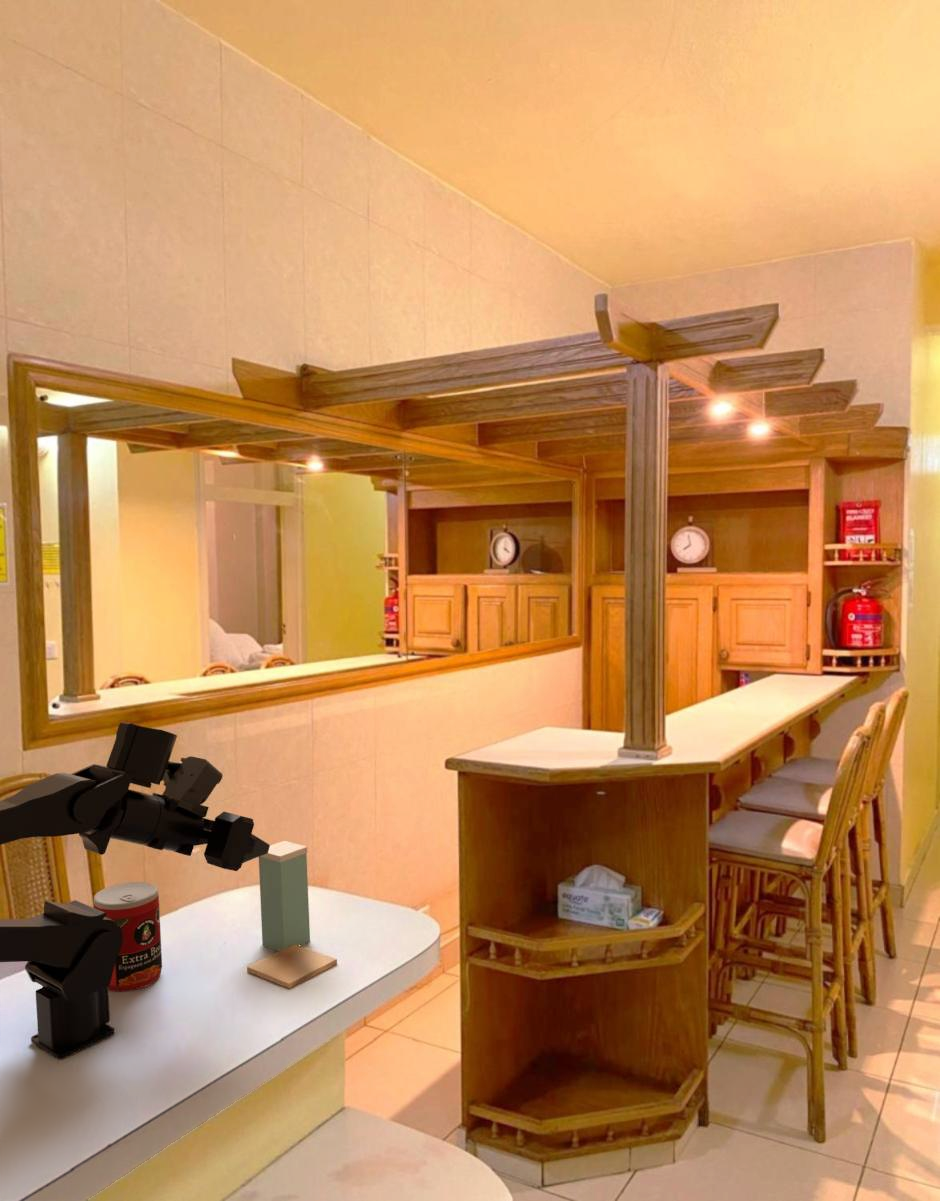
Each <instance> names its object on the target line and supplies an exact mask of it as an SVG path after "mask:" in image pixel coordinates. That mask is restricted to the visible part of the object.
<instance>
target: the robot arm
mask: <svg viewBox="0 0 940 1201" xmlns="http://www.w3.org/2000/svg"><path fill="white" fill-rule="evenodd" d="M115 734H116V736H115V740H114V743H113V747H112V748H111V753H110V755H109V757H108V760H107V763H106V765H101V764H98V763H93V764H91V765H89V766H86V767H84V768H82V769H79V770H77V771H75V772H72V773H66V772H59V773H58V772H57V773H53V774H51V775H49V776H46V777H44V778H42V779H40V780H37V781H35V782H33V783H31V784H28V785H26V786H25V787H24V788H22V789H21V790H19V791H18V792H16V794H14V795H12V796H10V797H7V798H5V799H2V800H0V846H2V845H5V844H9V843H11V842H15V841H18V840H22V839H29V838H42V837H43V838H45V837H50V838H51V837H63V836H70V835H77V834H78V835H79V837H80V838H81V840H82V844H83V848H84V850H86V851H90V852H92V853H95V854H98V855H100V856H101V855H102V856H103V855H104V854H106V852H107V849H108V846H109V844H110V840H116V841H122V842H127V843H131V844H136V845H142V846H145V847H149V848H151V849H154V850H159V851H163V850H165V851H171V852H174V853H178V854H180V855H182V856H183V855H184V856H188V857H189V856H190V857H191V855H192V853H193V850H194V847H195V846H202V845H206V847H205V850H204V853H203V856H204V858H205V861H206V864H209V865H212V866H215V867H216V868H221V869H224V870H228V871H233V872H238V871H239V870H240V869H242V866H243V864H245V863H247V862H249V861H251V860H254V859H256V858H259V856H262V855H265V854H267V853H268V851H269V847H270V846H271V845H270V844H269V843H268V842H266V841H264V840H262V839H261V838H259V836H257V835H254V834H253V833H252V832H253V830H254V827H255V823H254V820H253V818H252V817H251V818H250V817H246V816H242V815H238V814H236V813H231V812H227V811H222V812H221V813H220V814H218V815H217V816H215V818H214V820H212V819H209V818H206V817H207V814H208V811H209V806H207V805H203V804H204V803H205V802H206V801H207V800H208V798H209V797H210V796H211V794H212V792H213V790H214V789H215V788H216V786H217V785H218V784H220V783H221V781H222V780H223V773H222V772H221V771H220V770H218V768H216V767H215V766H214V765H213V764H212V763H211V762H210V761H208V759H206V758H203V757H202V758H201V757H197V756H187V757H181V758H180V761H181V762H178V761H177V762H175V761H170V758H171V756H172V752H173V750H174V747H175V744H176V741H177V738H178V735H177V734H175V733H174V732H173V733H172V732H169V731H166V730H163V729H158V728H152V727H146V726H142V725H137V724H134V723H130V722H125V721H121V722H119V725H118V727H117V730H116V733H115ZM161 782H163V786H165V788H164V791H162V792H163V793H162V794H160V793H155V792H152V794H148V793H146V792H141V791H137V790H133V789H129V788H130V785H131V784H132V785H136V786H140V787H143V788H148V789H151V787H152V785H157V786H160V785H161ZM105 916H106V913H105V912H102V911H100V910H97V909H95V908H94V906H93V907H92V906H91V905H88V904H85V903H83V902H81V901H78V900H76V899H75V900H72V901H69V902H64V903H61V902H55V901H50V900H45V901H44V904H43V913H40V914H38V915H35V916H33V917H29V918H0V963H15V962H16V963H19V962H22V963H23V962H27V963H26V964H25V966H24V969H25V971H26V973H27V975H28V977H29V980H30V981H31V982H33V983H36V984H38V985H40V986H42V987H41V988H39V989H36V990H35V1003H36V1004H35V1005H36V1020H37V1021H36V1023H37V1033H36V1034H34V1035H32V1036H31V1037H30V1042H31V1044H34V1045H35V1046H37V1047H38V1048H40V1049H42V1050H43V1051H45V1052H46V1053H48V1054H50V1055H51V1056H53V1057H54V1058H56V1059H58V1060H59V1059H65V1058H67V1057H69V1056H70V1055H74V1054H75V1053H77V1052H79V1051H82V1050H83V1049H86V1048H88V1047H90V1046H92V1045H94V1044H97V1043H98V1042H101V1041H102V1040H104V1039H107V1038H109V1037H111V1036H113V1035H115V1028H114V1027H112V1026H110V1025H108V1024H109V1023H110V1021H111V1018H110V1016H111V1015H110V1000H109V999H110V998H109V997H110V996H109V990H108V986H109V985H110V982H111V978H112V974H113V970H114V966H115V962H116V959H117V956H118V954H119V952H120V950H121V947H122V943H123V934H122V929H121V928H120V926H119V924H118V923H117V922H115V921H114V920H111V919H109V918H107V917H105Z"/></svg>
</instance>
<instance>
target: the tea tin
mask: <svg viewBox="0 0 940 1201" xmlns="http://www.w3.org/2000/svg"><path fill="white" fill-rule="evenodd" d="M308 852H309V851H308V846H306V845H304V844H303V845H302V844H298V843H295V842H291V841H287V840H283V841H279V842H277V843H274V844H271V845H270V847H269V851H268V853H267V854H265V855H262V856H259V857H258V871H259V872H258V873H259V890H260V895H259V897H260V899H259V900H260V914H261V915H260V916H261V940H262V946H265V947H266V948H268V949H269V948H270V949H272V950H275V951H277V952H279V951H281V950H284V949H286V948H288V947H290V946H292V945H294V944H296V945H301V946H303V945H305V944H307V943H306V942H308V943H310V942H311V933H310V932H311V930H310V928H311V926H310V910H309V909H310V907H309V906H310V903H309V883H308V857H307V853H308ZM304 943H305V944H304ZM302 944H303V945H302Z"/></svg>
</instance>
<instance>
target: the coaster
mask: <svg viewBox="0 0 940 1201" xmlns="http://www.w3.org/2000/svg"><path fill="white" fill-rule="evenodd" d="M336 965H338V959H337V958H335V957H332V956H329V955H327V954H324V953H321V952H318V951H316V950H313V949H309V948H306V947H304V946H302V945H301V946H299V945H296V944H294V945H292V946H290V947H288V948H286V949H284V950H281V951H277V952H275V953H273V954H271V955H269V956H267V957H264V958H263V959H260V960H258V961H257V962H254V963H252V964H250V965H248V966H246V971H247V973H250V974H253V975H255V976H258V977H259V978H262V979H264V980H265V979H266V980H267V981H271V982H272V983H276V985H277V984H278V985H280V986H283V987H284V988H288V989H291V988H293V987H294V986H296V985H299V984H301V983H302V981H303V982H304V981H306V980H308V979H310V978H312V977H314V976H316V975H318V974H320V973H322V972H324V971H325V970H327V969H330V968H331V967H334V966H336ZM300 982H301V983H300ZM298 983H299V984H298Z"/></svg>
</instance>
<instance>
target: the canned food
mask: <svg viewBox="0 0 940 1201" xmlns="http://www.w3.org/2000/svg"><path fill="white" fill-rule="evenodd" d="M159 899H160V896H159V889H158V886H157V885H156V884H153V883H151V882H145V881H130V882H129V881H128V882H122V883H119V884H114V885H111V886H108V887H105V888H103V889H100V891H98V892H96V893H95V894H94V896H93V908H95V909H97V910H100V911H102V912H105V913H106V916H105V917H107V918H109V919H111V920H114V921H115V922H117V923H118V924H119V926H120V928H121V929H122V934H123V943H122V947H121V950H120V952H119V954H118V956H117V959H116V962H115V966H114V970H113V974H112V978H111V982H110V985H109V986H108V991H112V992H130V991H135V990H140V989H141V988H142V989H143V988H144V987H147V986H149V985H151V984H153V983H154V982H155V981H156V980H158V978H160V976H161V974H162V969H163V958H162V938H161V937H162V934H161V914H160V913H161V911H160V900H159Z"/></svg>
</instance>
